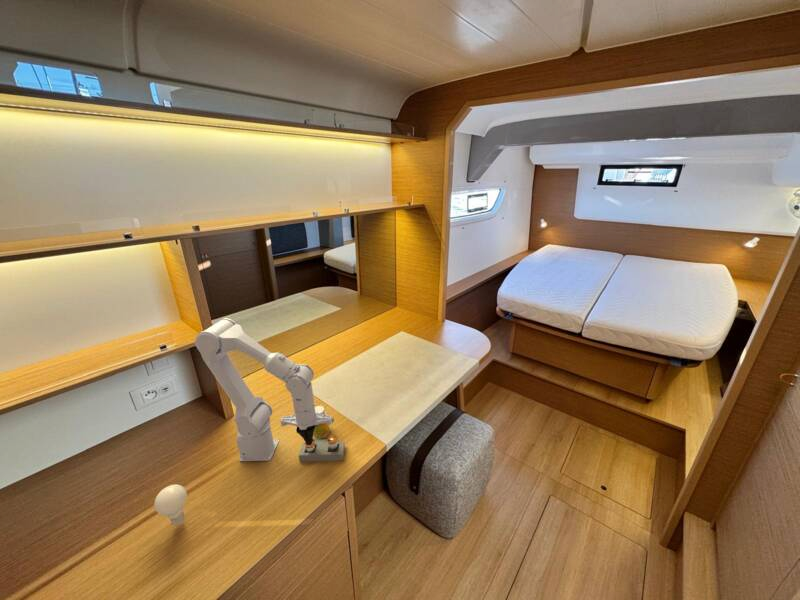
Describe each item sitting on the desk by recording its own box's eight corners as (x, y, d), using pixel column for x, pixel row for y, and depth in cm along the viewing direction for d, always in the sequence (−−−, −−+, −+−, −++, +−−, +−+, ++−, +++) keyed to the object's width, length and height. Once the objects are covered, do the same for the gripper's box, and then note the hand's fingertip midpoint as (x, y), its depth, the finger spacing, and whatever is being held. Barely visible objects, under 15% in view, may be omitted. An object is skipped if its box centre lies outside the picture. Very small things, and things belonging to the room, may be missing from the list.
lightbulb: (199, 509, 81) (188, 477, 78) (184, 534, 76) (172, 502, 72) (174, 510, 81) (162, 478, 78) (157, 536, 75) (143, 503, 72)
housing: (299, 461, 95) (298, 455, 94) (313, 420, 111) (312, 415, 111) (342, 460, 95) (341, 454, 94) (350, 420, 112) (349, 414, 111)
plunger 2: (327, 453, 95) (326, 442, 94) (329, 445, 98) (328, 434, 97) (337, 452, 95) (336, 442, 94) (339, 445, 98) (338, 434, 97)
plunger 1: (305, 457, 96) (303, 446, 94) (307, 449, 99) (306, 438, 97) (315, 456, 96) (313, 446, 94) (317, 449, 99) (315, 438, 97)
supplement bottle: (313, 440, 103) (309, 416, 99) (312, 429, 108) (309, 406, 104) (329, 437, 104) (327, 413, 101) (328, 426, 109) (326, 402, 106)
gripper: (274, 416, 87) (281, 453, 92) (326, 414, 87) (331, 452, 92) (282, 399, 94) (289, 435, 99) (331, 398, 94) (335, 434, 99)
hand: (309, 442), depth 96 cm, fingers closed, pressing on plunger 1
